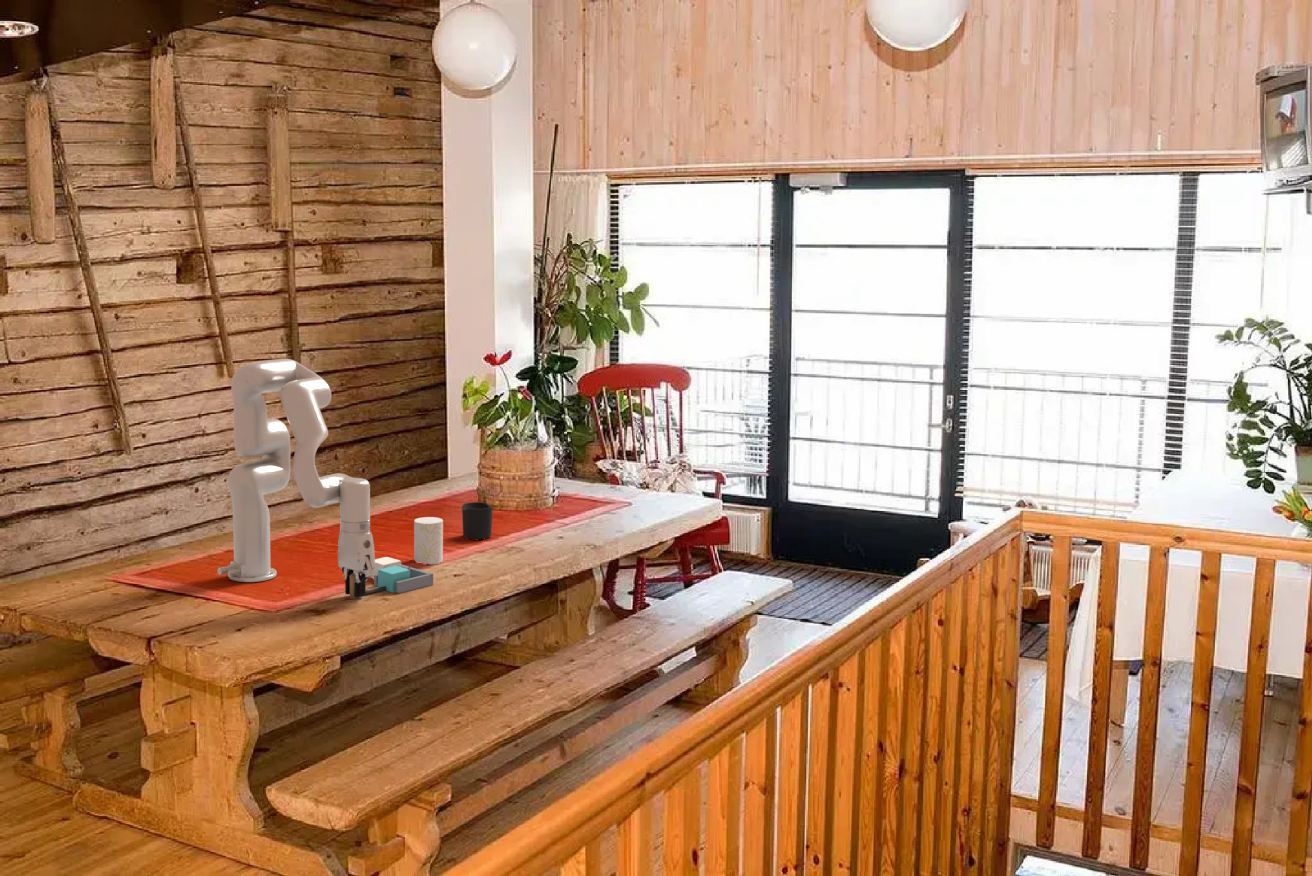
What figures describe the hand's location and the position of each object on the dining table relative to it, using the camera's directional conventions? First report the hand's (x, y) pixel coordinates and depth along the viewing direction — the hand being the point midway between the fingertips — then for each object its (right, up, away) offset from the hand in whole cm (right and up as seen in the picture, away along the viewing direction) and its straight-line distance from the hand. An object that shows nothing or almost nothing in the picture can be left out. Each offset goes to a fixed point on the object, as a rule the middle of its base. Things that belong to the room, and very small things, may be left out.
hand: (355, 594), depth 339 cm
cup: (+13, +5, +37) cm, 40 cm away
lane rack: (+7, +2, +15) cm, 17 cm away
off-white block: (+4, +2, +19) cm, 19 cm away
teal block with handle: (+5, 0, +5) cm, 7 cm away
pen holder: (+23, +10, +66) cm, 71 cm away
